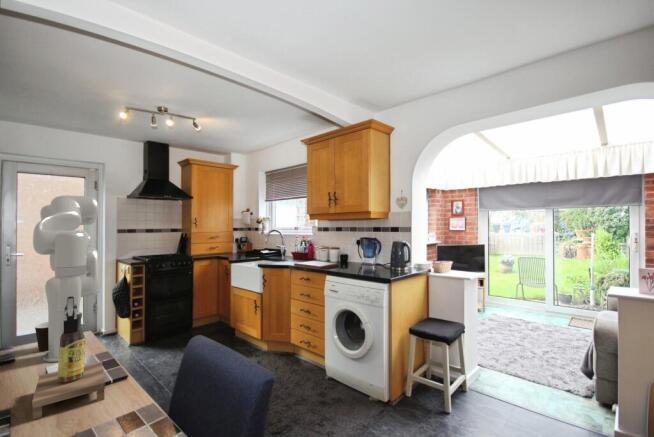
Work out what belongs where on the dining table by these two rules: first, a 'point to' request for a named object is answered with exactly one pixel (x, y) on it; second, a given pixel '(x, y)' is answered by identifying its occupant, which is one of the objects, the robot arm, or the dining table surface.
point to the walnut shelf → (67, 387)
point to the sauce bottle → (71, 354)
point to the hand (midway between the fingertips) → (71, 328)
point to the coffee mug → (42, 337)
